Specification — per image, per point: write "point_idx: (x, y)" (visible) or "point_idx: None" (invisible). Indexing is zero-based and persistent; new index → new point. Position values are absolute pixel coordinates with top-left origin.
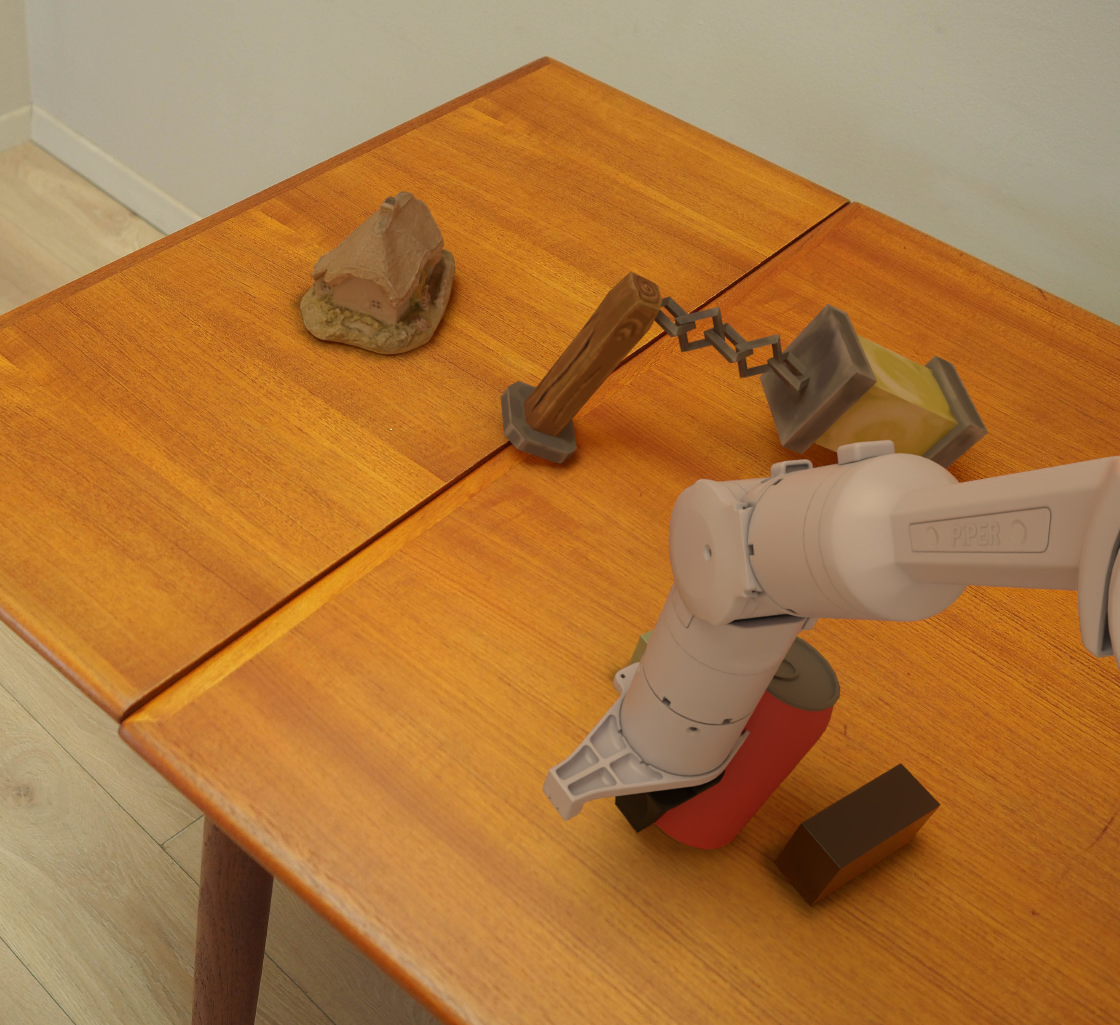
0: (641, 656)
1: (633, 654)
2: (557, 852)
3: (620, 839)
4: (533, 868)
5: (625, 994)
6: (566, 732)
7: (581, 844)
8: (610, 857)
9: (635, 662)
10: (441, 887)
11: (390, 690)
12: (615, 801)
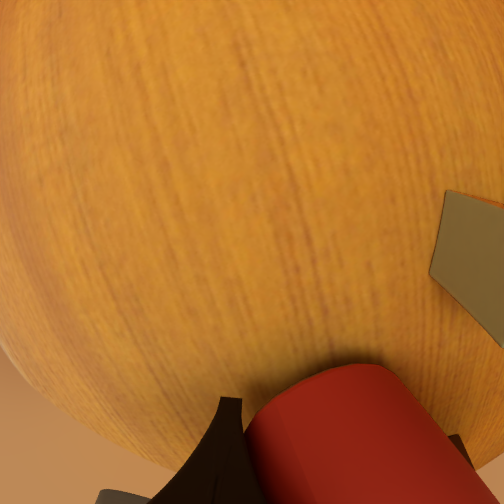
0: (502, 237)
1: (494, 209)
2: (133, 357)
3: (221, 389)
4: (99, 352)
5: (138, 448)
6: (273, 217)
7: (168, 368)
8: (194, 395)
9: (483, 218)
10: (15, 304)
11: (66, 19)
12: (219, 401)
